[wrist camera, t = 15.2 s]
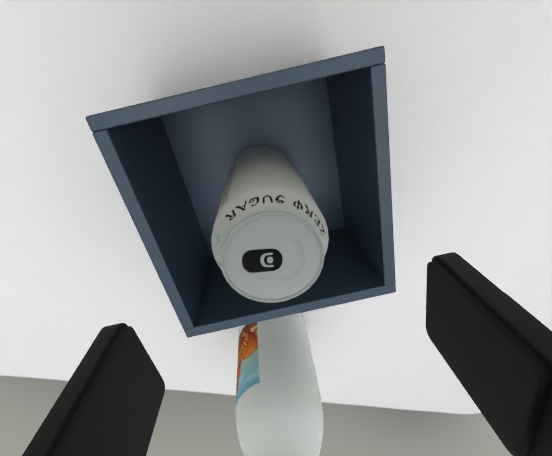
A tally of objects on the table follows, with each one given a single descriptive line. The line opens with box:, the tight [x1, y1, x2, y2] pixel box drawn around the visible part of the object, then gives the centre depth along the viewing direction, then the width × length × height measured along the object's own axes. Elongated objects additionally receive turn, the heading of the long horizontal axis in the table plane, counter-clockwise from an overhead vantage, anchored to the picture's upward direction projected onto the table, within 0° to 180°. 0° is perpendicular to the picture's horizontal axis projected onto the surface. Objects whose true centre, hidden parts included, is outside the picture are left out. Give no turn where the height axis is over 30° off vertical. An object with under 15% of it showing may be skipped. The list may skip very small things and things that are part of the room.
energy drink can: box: [211, 145, 329, 303], centre depth 20 cm, size 6×6×15 cm
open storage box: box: [86, 46, 396, 337], centre depth 23 cm, size 16×16×11 cm
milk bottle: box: [236, 313, 323, 456], centre depth 27 cm, size 8×8×20 cm
